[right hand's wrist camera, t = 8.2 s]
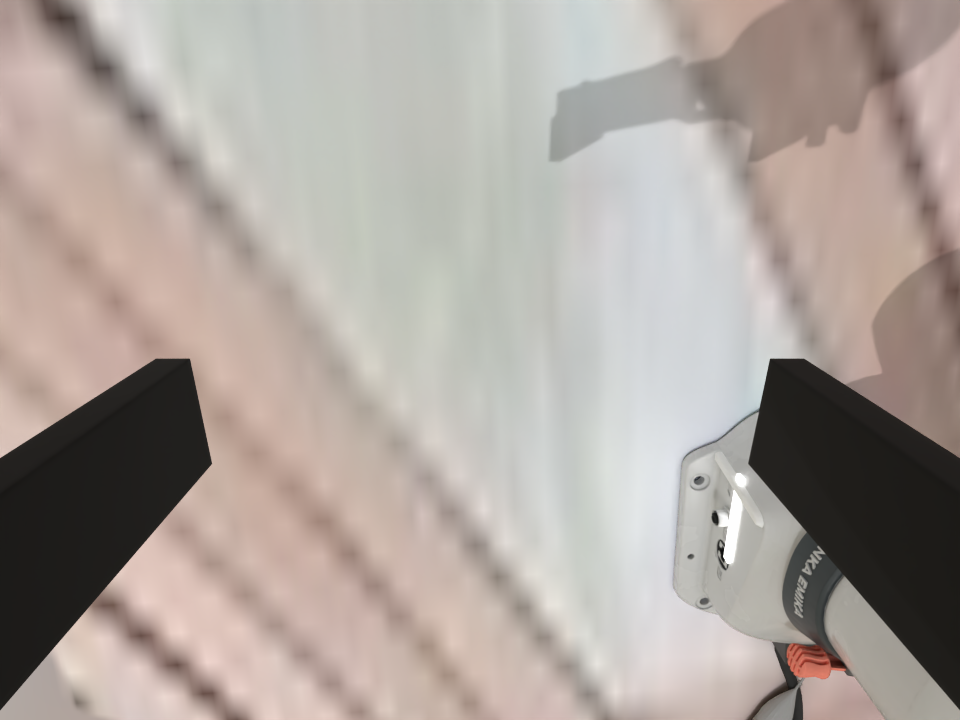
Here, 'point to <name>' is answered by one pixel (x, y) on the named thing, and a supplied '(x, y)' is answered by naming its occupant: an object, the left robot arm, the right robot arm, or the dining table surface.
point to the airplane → (779, 706)
